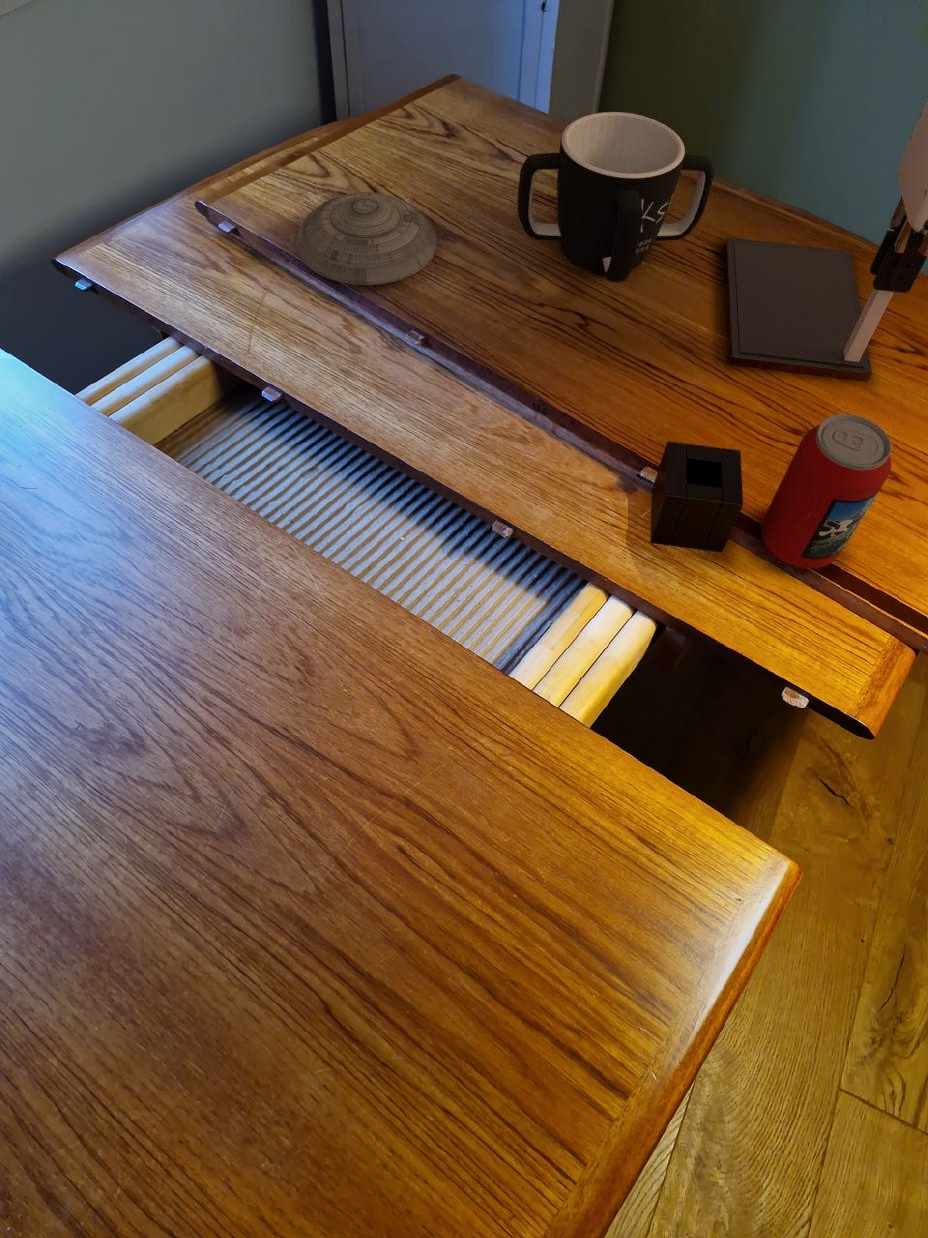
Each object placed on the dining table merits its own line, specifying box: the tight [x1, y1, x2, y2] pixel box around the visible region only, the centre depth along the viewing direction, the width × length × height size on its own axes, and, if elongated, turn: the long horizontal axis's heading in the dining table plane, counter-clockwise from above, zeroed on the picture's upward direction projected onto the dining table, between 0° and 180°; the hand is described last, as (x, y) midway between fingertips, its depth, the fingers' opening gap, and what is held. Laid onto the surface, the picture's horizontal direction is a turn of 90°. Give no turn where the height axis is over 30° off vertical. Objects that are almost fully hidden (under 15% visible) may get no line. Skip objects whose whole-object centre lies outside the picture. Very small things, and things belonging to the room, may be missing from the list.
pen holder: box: [649, 440, 744, 554], centre depth 74 cm, size 6×6×6 cm
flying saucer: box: [294, 191, 439, 286], centre depth 93 cm, size 15×15×6 cm
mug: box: [517, 111, 715, 283], centre depth 92 cm, size 16×16×12 cm
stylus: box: [843, 219, 926, 362], centre depth 81 cm, size 1×1×14 cm
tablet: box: [723, 236, 873, 382], centre depth 92 cm, size 14×20×1 cm
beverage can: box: [760, 413, 892, 569], centre depth 70 cm, size 7×7×12 cm
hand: (888, 280), depth 80 cm, fingers closed on stylus, 1 cm apart
